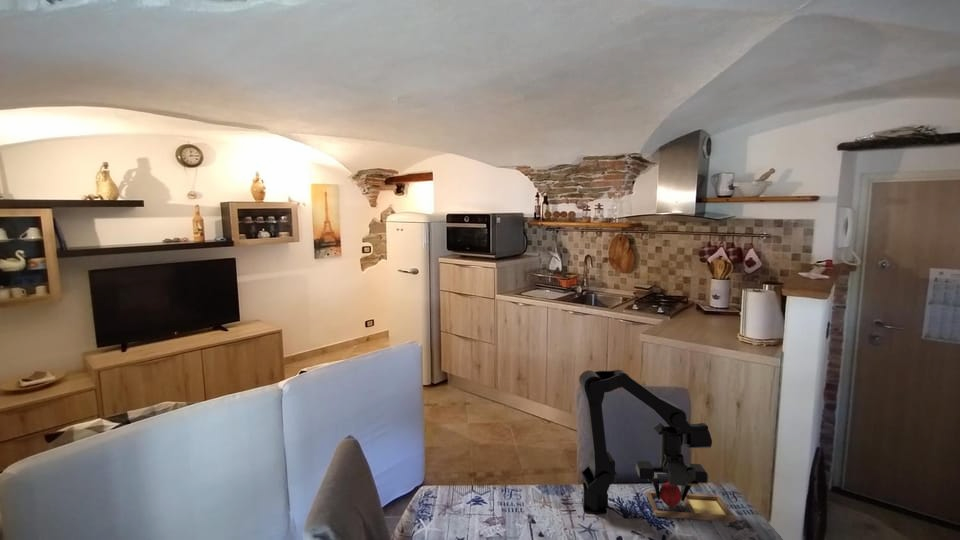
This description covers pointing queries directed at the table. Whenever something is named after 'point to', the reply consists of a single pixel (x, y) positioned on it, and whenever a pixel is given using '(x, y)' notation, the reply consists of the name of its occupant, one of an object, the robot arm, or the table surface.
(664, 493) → the red pomegranate
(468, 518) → the table surface
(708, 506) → the wooden divided frame
